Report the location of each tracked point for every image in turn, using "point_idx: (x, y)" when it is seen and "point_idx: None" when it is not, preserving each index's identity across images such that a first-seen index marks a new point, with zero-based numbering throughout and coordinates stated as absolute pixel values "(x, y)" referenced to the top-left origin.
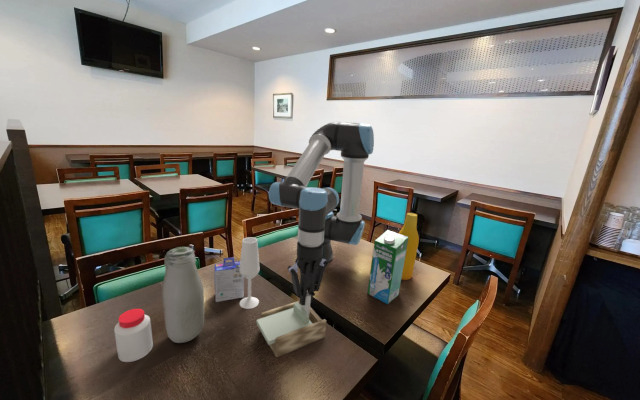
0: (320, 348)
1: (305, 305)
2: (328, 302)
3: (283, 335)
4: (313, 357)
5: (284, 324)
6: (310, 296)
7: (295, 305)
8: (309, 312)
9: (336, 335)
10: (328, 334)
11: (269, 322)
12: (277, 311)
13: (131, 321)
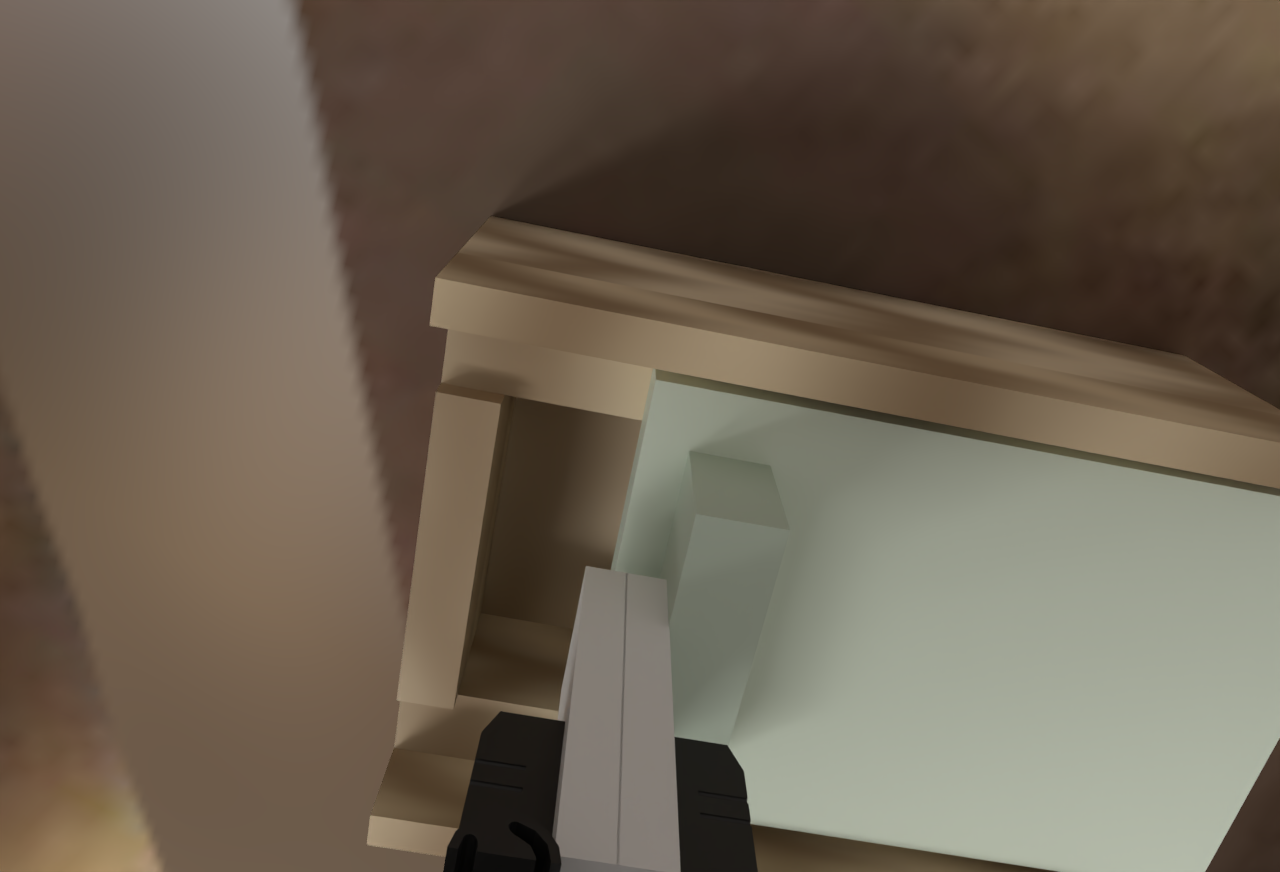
0: (675, 106)
1: (669, 718)
2: (20, 646)
3: (1235, 466)
4: (856, 54)
5: (997, 634)
6: (568, 841)
7: None
8: (587, 584)
9: (325, 129)
10: (412, 219)
11: (1116, 773)
12: (881, 865)
13: None
